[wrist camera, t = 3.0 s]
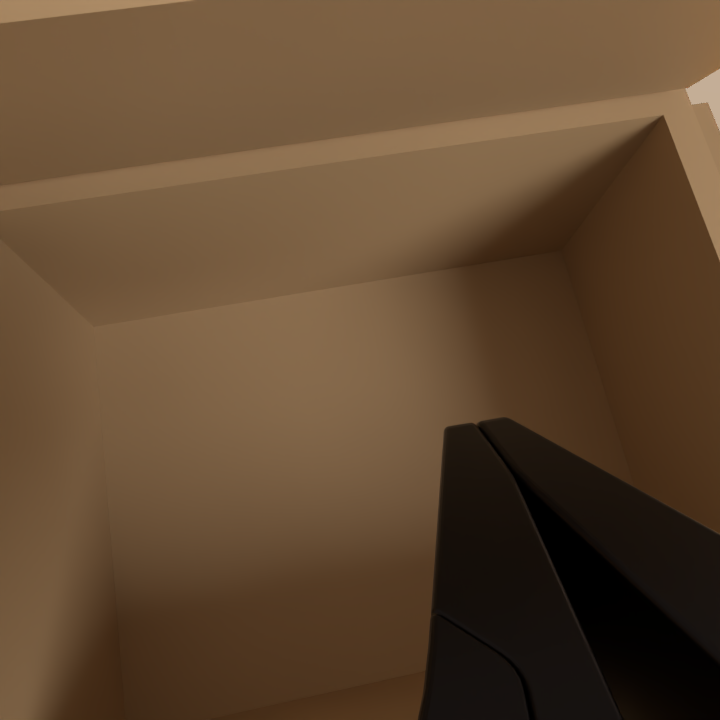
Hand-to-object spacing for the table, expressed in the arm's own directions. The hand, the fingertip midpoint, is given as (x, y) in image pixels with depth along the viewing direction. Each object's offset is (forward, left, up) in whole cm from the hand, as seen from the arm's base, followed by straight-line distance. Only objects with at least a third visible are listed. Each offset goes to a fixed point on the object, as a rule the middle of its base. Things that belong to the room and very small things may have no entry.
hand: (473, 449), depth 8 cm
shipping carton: (0, +2, -13) cm, 13 cm away
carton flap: (+3, +8, -4) cm, 10 cm away
